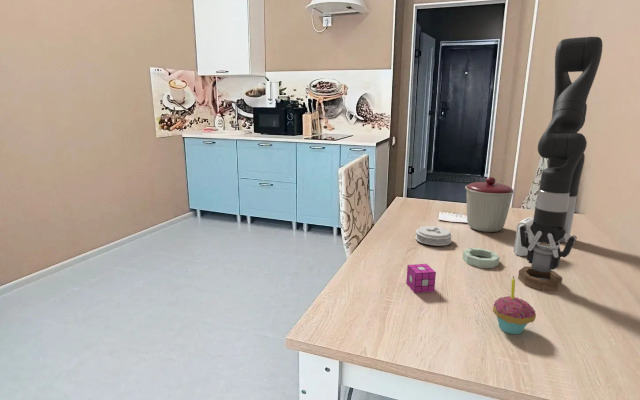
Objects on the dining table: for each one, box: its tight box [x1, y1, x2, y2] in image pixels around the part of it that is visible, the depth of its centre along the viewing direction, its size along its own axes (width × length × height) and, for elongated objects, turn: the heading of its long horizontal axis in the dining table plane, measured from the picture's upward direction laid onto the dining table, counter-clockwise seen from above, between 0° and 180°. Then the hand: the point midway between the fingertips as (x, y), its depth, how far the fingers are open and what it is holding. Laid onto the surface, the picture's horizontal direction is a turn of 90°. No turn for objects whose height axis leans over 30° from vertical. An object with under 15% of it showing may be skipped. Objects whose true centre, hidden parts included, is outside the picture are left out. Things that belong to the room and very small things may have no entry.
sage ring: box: [462, 247, 501, 269], centre depth 124 cm, size 10×10×2 cm
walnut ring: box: [517, 266, 563, 292], centre depth 110 cm, size 10×10×2 cm
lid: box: [415, 225, 453, 247], centre depth 141 cm, size 13×13×5 cm
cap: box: [530, 244, 554, 272], centre depth 108 cm, size 5×5×6 cm
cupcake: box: [492, 275, 537, 335], centre depth 86 cm, size 9×8×12 cm
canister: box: [464, 176, 516, 233], centre depth 154 cm, size 18×18×21 cm
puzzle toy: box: [405, 263, 437, 294], centre depth 105 cm, size 6×6×6 cm
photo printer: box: [513, 216, 541, 257], centre depth 130 cm, size 10×4×12 cm, turn 123°
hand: (541, 265), depth 109 cm, fingers closed on cap, 5 cm apart
